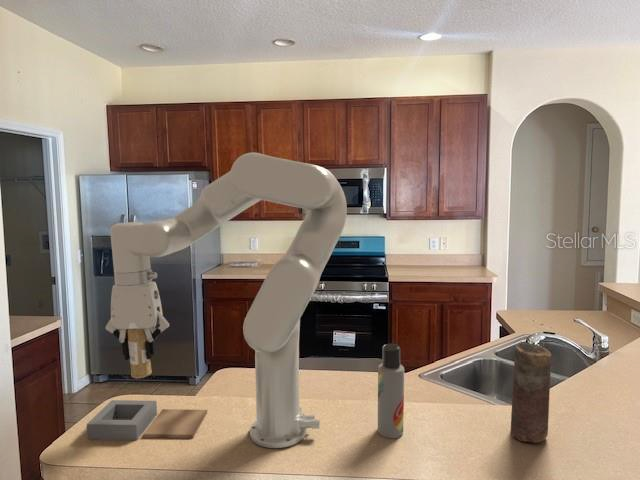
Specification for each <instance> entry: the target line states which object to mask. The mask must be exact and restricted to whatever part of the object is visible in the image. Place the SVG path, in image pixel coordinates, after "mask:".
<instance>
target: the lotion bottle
mask: <svg viewBox="0 0 640 480" xmlns="http://www.w3.org/2000/svg"><path fill="white" fill-rule="evenodd" d="M381 362H382V363H380V364H379V365H378V367H377V369H378V370H377V431H378V434H379V435H380V436H382V437H384V438H386V437H387V438H386V439H397V437H398V438H400V437H401V436H402V435H403V434H404V415H405V414H404V413H405V411H404V409H405V407H404V405H405V367H404V366H403V365H402V364H401V347H400V346H399V345H398V344H396V343H387V344H384V345H383V346H382V361H381Z"/></svg>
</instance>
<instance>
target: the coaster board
mask: <svg viewBox="0 0 640 480" xmlns="http://www.w3.org/2000/svg"><path fill="white" fill-rule="evenodd" d="M207 414H208V409H174V408H173V409H171V408H169V409H168V408H167V409H166V408H165V409H164V408H162V409H161V411H160V412H159V413H158V414H157V415H156V417H155V418H154V419H153V420H152V422H151V423H150V424H149V425H148V427H147V428H146V429H145V431H144V432H143V433H142V435H143V438H151V439H152V438H154V439H155V438H156V439H157V438H158V439H161V438H162V439H165V438H166V439H194V437H195V435H197V432H198V430H199V429H200V427H201V425H202V423H203V421H204V420H205V418H206V416H207Z"/></svg>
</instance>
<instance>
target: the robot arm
mask: <svg viewBox="0 0 640 480" xmlns="http://www.w3.org/2000/svg"><path fill="white" fill-rule="evenodd" d="M261 201H266V202H271V203H274V204H280V205H284V206H289V207H294V208H298V209H303V210H304V209H305V210H306V213H305V215H304V219H303V221H302V222H301V224H300V225H299V228H298V229H297V232H296V234H295V236H294V238H293V240H292V242H291V244H290V246H289V247H288V249H287V250H286V252H285V253H284V255H283V256H282V257H281V258H280V259H278V260H277V261H276V262H275V264H273V265H272V267H271V268H270V270H269V271H268V272H267V274H266V277H265V279H264V280H263V283H262V284H261V286H260V289H259V291H258V292H257V293H256V296H255V298H254V299H253V302H252V303H251V306H250V308H249V310H248V311H247V314H246V315H245V316H246V317H244V321H243V326H242V329H243V330H242V331H243V332H242V334H243V336H244V340H245V342H246V343H247V344H248V346H249V347H250V348H251V349H253V350H254V352H255V353H254V362H255V363H254V365H255V367H254V369H255V370H254V371H255V373H254V375H255V409H256V411H255V412H256V414H255V416H256V420H255V421H254V422H253V423H252V424H251V426H250V428H249V437H250V440H252V442H254V443H255V444H257V445H258V446H261V447H263V448H269V449H281V448H288V447H291V446H294V445H297V444H298V443H299V442H301V441H303V439H304V438H305V437H306V435H307V430H308V429H313V430H315V429H319V430H320V423H321V421H320V418H317V419H315V418H316V416H315V415H316V414H305V413H303V407H300V369H299V368H300V329H301V328H300V327H301V317H302V316H303V315H304V312H305V310H306V308H307V307H308V304H309V303H310V301H311V299H312V296H313V294H314V293H315V291H316V289H317V287H318V285H319V283H320V279H321V276H322V273H323V272H324V269H325V267H326V265H327V264H328V262H329V260H330V257H331V256H332V254H333V251H334V249H335V247H336V246H337V244H338V241H339V239H340V238H341V235H342V233H343V231H344V230H343V229H344V227H345V225H346V221H347V215H348V214H347V213H348V210H347V209H348V207H347V206H348V204H347V198H346V195H345V192H344V190H343V188H342V186H341V184H340V182H339V181H338V179H337V178H336V177H335V175H334V174H333V173H332V172H331V171H330V170H328V169H326V168H325V167H322V166H320V165H316V164H312V163H306V162H303V161H301V162H300V161H296V160H291V159H285V158H282V157H276V156H271V155H267V154H264V153H260V152H254V151H253V152H247V153H244V154H242V155H240V156H239V157H237V158H236V160H235V161H234V162H233V164H232V166H231V168H230V171H228V172H226V173H225V174H223V175H222V176H220V177H219V178H217V179H216V180H214V181H212V182H210V183H209V184H207V185H206V186H204V187H203V188H202V190H201V192H200V197H199V198H198V199H197V201H195V203H193V204H192V205H191V206H189V207H188V208H186V209H185V210H183V211H182V212H180V213H179V214H177V215H175V216H174V217H171V218H168V219H163V220H158V221H152V222H147V223H144V222H141V221H139V222H138V221H133V222H132V221H130V222H118V223H116V224H113V225H112V226H111V227H110V232H109V233H110V242H111V243H110V244H111V254H112V265H113V275H114V284H113V285H112V289H111V297H110V319H109V320H108V322H107V324H106V325H105V330H106V331H108V332H109V333H111V334H113V336H114V337H115V338H117V339H118V341H119V343H121V347H122V355H123V356H124V360H125V361H128V360H130V357H129V346H128V332H127V331H128V329H129V325H130V323H135V325H136V326H137V327H138V328H137V329H144V331H145V334H146V337H147V342H146V343H145V346H146V357H147V359H150V360H151V359H152V358H154V357H155V356H156V354H157V341H156V339H157V338H158V336H159V335H161V333H162V332H164V331H165V330H166V329H168V328H169V327H170V322H168V320H167V319H166V318H165V317H164V315H163V308H162V301H161V297H160V291H159V289H158V285H157V283H156V281H153V279H157V278H158V272H154V271H153V270H152V267H151V266H152V265H151V258H160V257H166V256H167V255H170V254H171V255H172V254H173V253H176V252H178V251H182V250H184V249H186V248H188V247H189V246H192V244H194V243H196V242H198V241H199V240H201V239H203V238H204V237H206V235H208V234H211V232H213V231H214V230H216V229H217V228H219V227H221V226H223V225H224V224H226V223H227V222H229V221H230V220H232V219H233V218H235V217H237V215H239V214H241V213H242V212H244V211H246V210H247V209H249V208H250V207H252V206H254V205H255V204H257V203H259V202H261ZM157 324H158V325H159V327H157V328H156V326H157Z"/></svg>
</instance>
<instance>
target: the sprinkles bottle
mask: <svg viewBox="0 0 640 480" xmlns="http://www.w3.org/2000/svg"><path fill="white" fill-rule="evenodd" d="M137 328H138V327H137V326H136V325H135V323H130V325H129V329H128V331H127V332H128V346H129V357H130V359H129V363H130V372H131V373H130V377H131V378H132V379H144V378H146V377H149V376H150V375H151V374H152V373H153V371H152V364H151V359H147V357H146V346H145V343H146V342H147V337H146V334H145V331H144V329H137Z"/></svg>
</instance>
